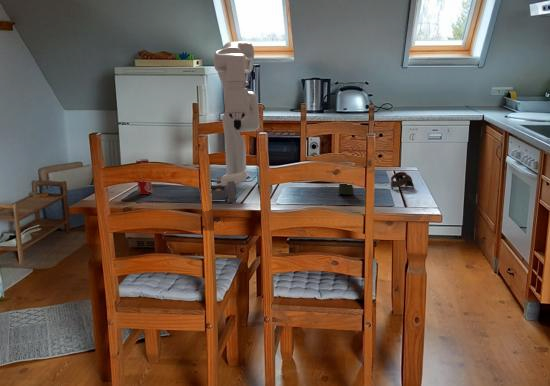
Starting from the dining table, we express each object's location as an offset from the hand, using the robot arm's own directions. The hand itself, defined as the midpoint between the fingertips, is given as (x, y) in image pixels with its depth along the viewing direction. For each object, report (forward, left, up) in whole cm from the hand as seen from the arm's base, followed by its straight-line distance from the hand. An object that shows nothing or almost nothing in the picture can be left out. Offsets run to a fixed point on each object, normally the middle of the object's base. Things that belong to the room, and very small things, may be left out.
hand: (237, 129), depth 247 cm
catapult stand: (+14, -2, -27) cm, 30 cm away
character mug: (+12, +44, -27) cm, 53 cm away
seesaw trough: (+11, -2, -20) cm, 23 cm away
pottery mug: (+3, +70, -27) cm, 75 cm away
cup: (+14, -8, -27) cm, 31 cm away
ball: (+14, -8, -24) cm, 29 cm away
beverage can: (+1, -41, -27) cm, 49 cm away
